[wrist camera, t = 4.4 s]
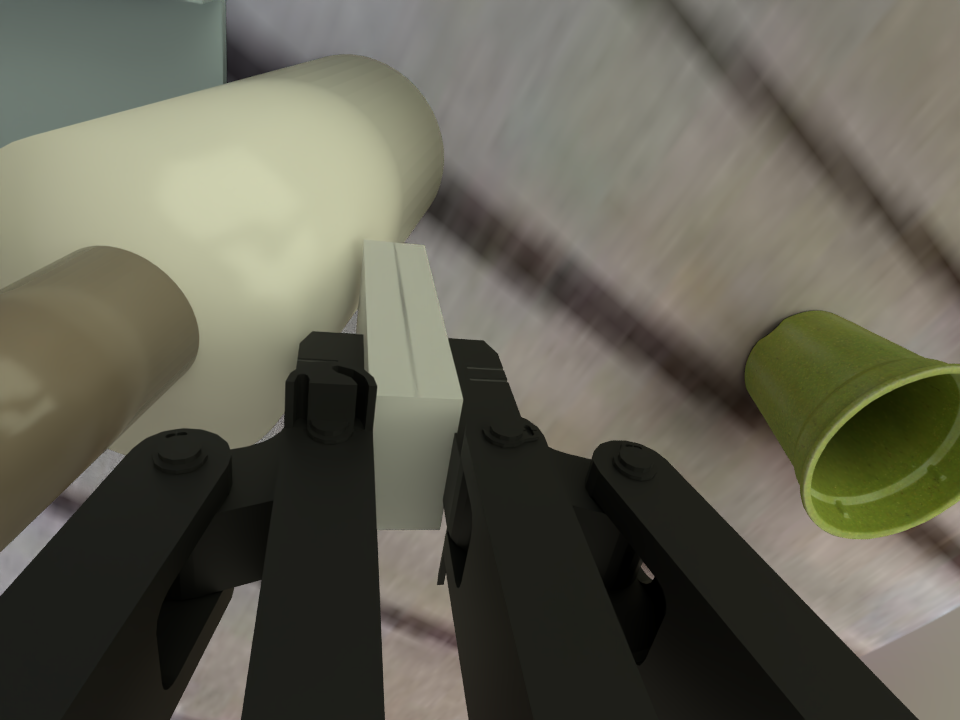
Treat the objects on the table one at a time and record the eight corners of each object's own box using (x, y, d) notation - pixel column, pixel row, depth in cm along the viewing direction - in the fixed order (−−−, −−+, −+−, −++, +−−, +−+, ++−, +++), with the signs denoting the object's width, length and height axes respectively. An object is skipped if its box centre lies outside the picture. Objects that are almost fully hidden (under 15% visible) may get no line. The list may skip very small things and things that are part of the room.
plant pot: (726, 289, 33) (832, 385, 26) (901, 269, 34) (1050, 355, 27) (702, 437, 38) (784, 553, 31) (855, 416, 39) (970, 523, 32)
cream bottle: (457, 76, 24) (131, 308, 7) (429, 255, 28) (168, 710, 10) (270, 35, 24) (-517, 156, 7) (266, 218, 28) (-262, 602, 10)
